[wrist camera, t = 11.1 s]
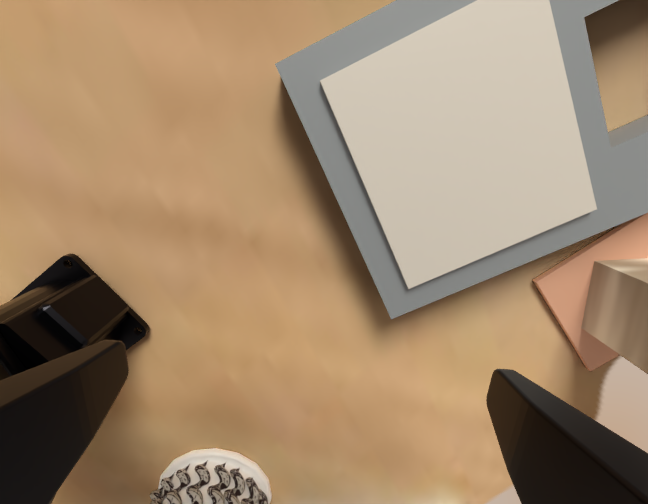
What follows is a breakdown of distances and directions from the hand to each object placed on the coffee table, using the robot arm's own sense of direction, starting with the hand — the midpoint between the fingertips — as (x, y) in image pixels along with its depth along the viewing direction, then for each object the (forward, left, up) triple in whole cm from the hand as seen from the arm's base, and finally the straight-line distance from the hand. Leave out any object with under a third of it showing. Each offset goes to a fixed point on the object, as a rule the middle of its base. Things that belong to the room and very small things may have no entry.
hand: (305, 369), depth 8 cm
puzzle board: (+13, -1, -13) cm, 18 cm away
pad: (+13, -14, -13) cm, 23 cm away
